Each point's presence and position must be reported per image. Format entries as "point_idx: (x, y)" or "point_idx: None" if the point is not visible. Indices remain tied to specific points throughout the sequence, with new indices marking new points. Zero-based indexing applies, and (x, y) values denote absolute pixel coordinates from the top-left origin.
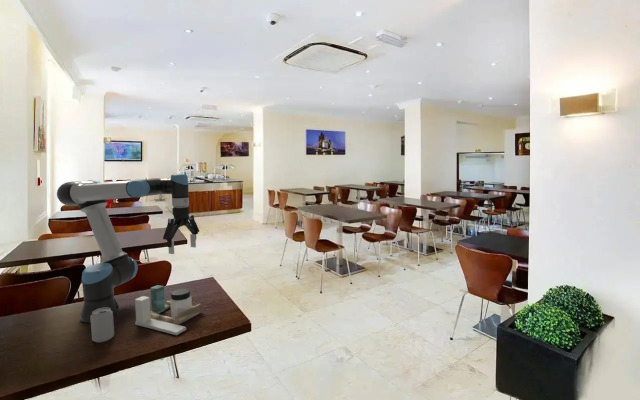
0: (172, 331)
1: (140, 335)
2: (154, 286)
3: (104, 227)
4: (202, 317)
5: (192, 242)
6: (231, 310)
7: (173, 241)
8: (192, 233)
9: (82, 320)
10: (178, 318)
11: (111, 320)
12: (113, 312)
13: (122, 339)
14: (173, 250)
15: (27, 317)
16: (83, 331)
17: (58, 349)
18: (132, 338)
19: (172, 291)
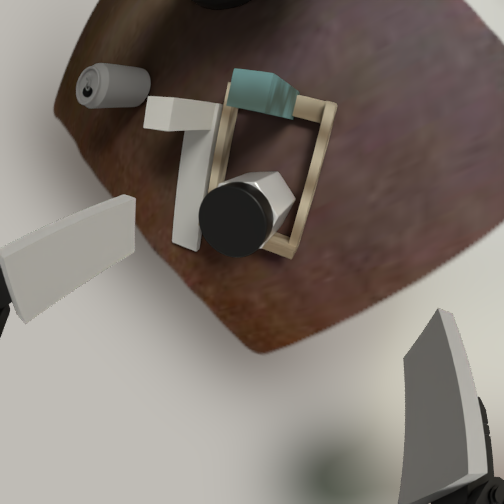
0: (173, 230)
1: (161, 154)
2: (252, 72)
3: None
4: (270, 260)
5: (429, 379)
6: (321, 321)
7: (35, 312)
8: (463, 497)
9: None
10: None
11: (109, 105)
12: (220, 3)
13: (142, 128)
14: (104, 263)
15: None
16: (157, 19)
17: (106, 52)
18: (149, 146)
19: (225, 187)
